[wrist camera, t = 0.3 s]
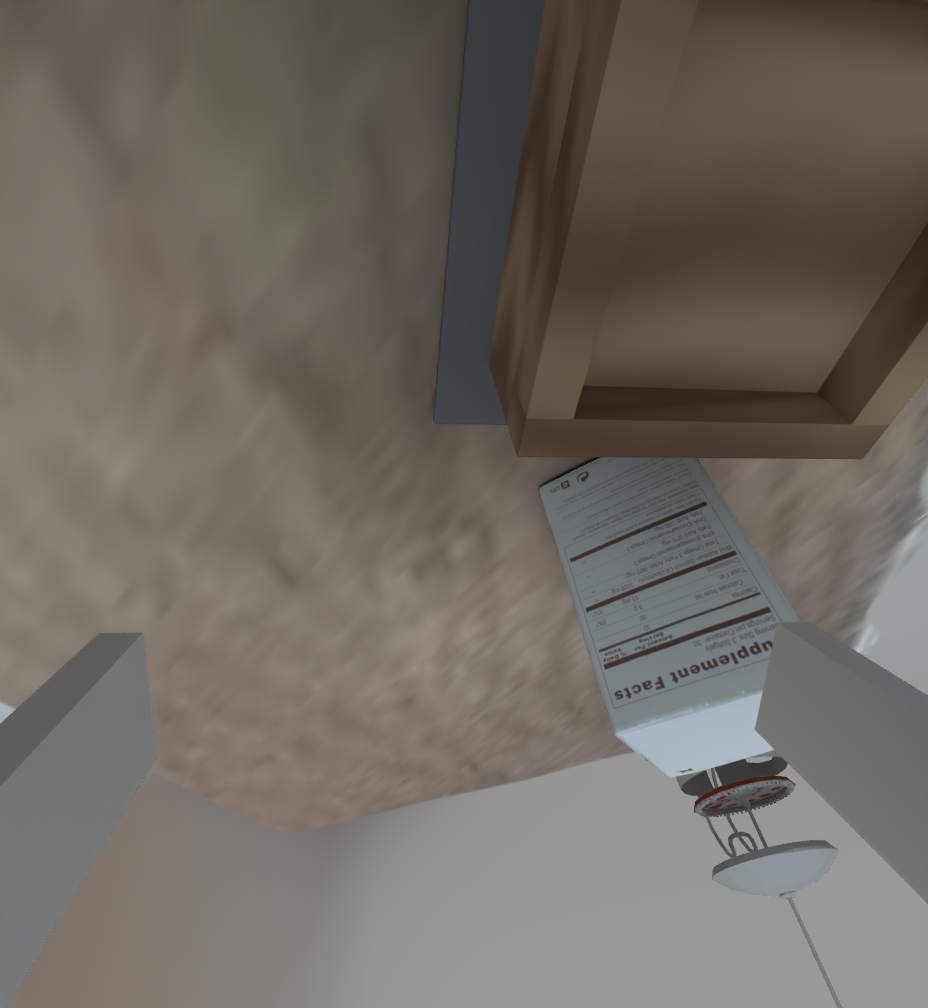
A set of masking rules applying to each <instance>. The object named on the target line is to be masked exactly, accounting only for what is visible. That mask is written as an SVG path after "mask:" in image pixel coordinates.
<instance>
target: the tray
mask: <svg viewBox="0 0 928 1008" xmlns="http://www.w3.org/2000/svg"><path fill="white" fill-rule="evenodd" d="M489 367H490V370H491V373H492V376H493V379H494V383H495V386H496V389H497V392H498V396H499V399H500V402H501V405H502V408H503V412H504V415H505V418H506V421H507V424H508V428H509V431H510V434H511V437H512V440H513V444H514V447H515V450H516V453H517V456H518V457H634V458H788V459H863V458H864V456H865V455H866V454H867V453H868V451H869V450H870V449H871V448H872V446H873V445H874V444H875V443H876V441H877V440H878V439H879V438H880V436H881V435H882V434H883V433H884V431H885V430H886V429H887V428H888V426H889V425H890V424H891V423H892V421H893V420H894V419H895V418H896V416H897V415H898V414H899V413H900V411H901V410H902V409H903V408H904V406H905V405H906V404H907V403H908V401H909V400H910V399H911V397H912V396H913V395H914V394H915V392H916V391H917V390H918V389H919V387H920V386H921V385H922V384H923V382H924V381H925V380H926V379H927V377H928V0H545V4H544V10H543V16H542V23H541V29H540V36H539V42H538V49H537V55H536V61H535V68H534V74H533V81H532V87H531V93H530V100H529V106H528V113H527V119H526V126H525V132H524V138H523V145H522V151H521V158H520V164H519V171H518V177H517V183H516V190H515V196H514V203H513V209H512V215H511V222H510V228H509V235H508V241H507V248H506V254H505V260H504V267H503V273H502V280H501V286H500V292H499V299H498V305H497V312H496V318H495V325H494V331H493V337H492V344H491V350H490V357H489Z"/></svg>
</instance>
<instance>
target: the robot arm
mask: <svg viewBox="0 0 928 1008" xmlns="http://www.w3.org/2000/svg"><path fill="white" fill-rule="evenodd" d="M755 731H756V732H757V733H758V734H759V735H760V736H761V737H762V738H763V739H764V740H765V741H766V742H767V743H768V744H769V745H770V746H771V747H772V748H773V749H774V750H775V751H776V752H777V753H778V754H779V755H780V756H781V757H782V758H783V759H784V760H785V761H786V762H787V763H788V764H789V765H790V766H791V767H792V768H793V769H794V770H795V771H796V772H797V773H798V774H799V775H800V776H801V777H802V778H803V779H804V780H805V781H806V782H807V783H808V784H809V785H810V786H811V787H812V788H813V789H814V790H815V791H816V792H817V793H818V794H819V795H820V796H821V797H822V798H823V799H824V800H825V801H826V802H827V803H828V804H829V805H830V806H831V807H832V808H833V809H834V810H835V811H836V812H837V813H838V814H839V815H840V816H841V817H842V818H843V819H844V820H845V821H846V822H847V823H848V824H849V825H850V826H851V827H852V828H853V829H854V830H855V831H856V832H857V833H858V834H859V835H860V836H861V837H862V838H863V839H864V840H865V841H866V842H867V843H868V844H869V845H870V846H871V847H872V848H873V849H874V850H875V851H876V852H877V853H878V854H879V855H880V856H881V857H882V858H883V859H884V860H885V861H886V862H887V863H888V864H889V865H890V866H891V867H892V868H893V869H894V870H895V871H896V872H897V873H898V874H899V875H900V876H901V877H902V878H903V879H904V880H905V881H906V882H907V883H908V884H909V885H910V886H911V887H912V888H913V889H914V890H915V891H916V892H917V893H918V894H919V895H920V896H921V897H922V898H923V899H924V900H925V901H926V902H927V903H928V695H926V694H924V693H923V692H921V691H920V690H918V689H916V688H915V687H913V686H911V685H910V684H908V683H907V682H905V681H903V680H902V679H900V678H898V677H897V676H895V675H893V674H892V673H890V672H889V671H887V670H886V669H884V668H882V667H881V666H879V665H877V664H876V663H874V662H873V661H871V660H869V659H868V658H866V657H864V656H863V655H861V654H860V653H858V652H856V651H855V650H853V649H851V648H850V647H848V646H847V645H845V644H843V643H842V642H840V641H838V640H837V639H835V638H834V637H832V636H830V635H829V634H827V633H826V632H824V631H822V630H821V629H819V628H817V627H816V626H814V625H813V624H811V623H809V622H777V627H776V632H775V636H774V641H773V646H772V650H771V655H770V660H769V664H768V669H767V674H766V678H765V683H764V688H763V692H762V697H761V702H760V706H759V711H758V716H757V720H756V725H755ZM156 758H157V757H156V748H155V738H154V729H153V720H152V710H151V701H150V692H149V682H148V673H147V664H146V654H145V645H144V636H143V633H99V634H98V635H97V636H95V637H94V638H93V639H92V640H91V641H90V642H89V643H88V644H87V645H86V646H85V647H83V648H82V649H81V650H80V651H79V652H78V653H77V654H76V655H75V656H74V657H73V658H71V659H70V660H69V661H68V662H67V663H66V664H65V665H64V666H63V667H62V668H61V669H59V670H58V671H57V672H56V673H55V674H54V675H53V676H52V677H51V678H50V679H49V680H47V681H46V682H45V683H44V684H43V685H42V686H41V687H40V688H39V689H38V690H37V691H35V692H34V693H33V694H32V695H31V696H30V697H29V698H28V699H27V700H26V701H25V702H23V703H22V704H21V705H20V706H19V707H18V708H17V709H16V710H15V711H14V712H13V713H11V714H10V715H9V716H8V717H7V718H6V719H5V720H4V721H3V722H2V723H1V724H0V1008H7V1006H8V1005H9V1003H10V1001H11V1000H12V998H13V996H14V995H15V993H16V991H17V990H18V988H19V986H20V985H21V983H22V981H23V979H24V978H25V976H26V975H27V973H28V971H29V970H30V968H31V966H32V965H33V963H34V961H35V960H36V958H37V956H38V954H39V953H40V951H41V950H42V948H43V946H44V945H45V943H46V941H47V940H48V938H49V936H50V934H51V933H52V931H53V929H54V928H55V926H56V924H57V923H58V921H59V919H60V918H61V916H62V914H63V913H64V911H65V909H66V908H67V906H68V904H69V903H70V901H71V899H72V898H73V896H74V894H75V893H76V891H77V889H78V888H79V886H80V884H81V883H82V881H83V879H84V878H85V876H86V874H87V872H88V871H89V869H90V867H91V866H92V864H93V863H94V861H95V859H96V858H97V856H98V854H99V852H100V851H101V849H102V848H103V846H104V844H105V843H106V841H107V839H108V838H109V836H110V834H111V833H112V831H113V829H114V827H115V826H116V824H117V823H118V821H119V819H120V818H121V816H122V814H123V813H124V811H125V809H126V807H127V806H128V804H129V802H130V801H131V799H132V798H133V796H134V794H135V793H136V791H137V789H138V788H139V786H140V784H141V783H142V781H143V779H144V778H145V776H146V774H147V773H148V771H149V769H150V768H151V766H152V764H153V763H154V761H155V759H156Z"/></svg>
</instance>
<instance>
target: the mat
mask: <svg viewBox="0 0 928 1008" xmlns="http://www.w3.org/2000/svg"><path fill="white" fill-rule="evenodd" d="M544 4H545V0H468V10H467V21H466V33H465V45H464V57H463V69H462V81H461V93H460V105H459V117H458V129H457V141H456V153H455V165H454V177H453V189H452V201H451V213H450V225H449V237H448V249H447V261H446V272H445V284H444V296H443V308H442V320H441V332H440V344H439V356H438V368H437V380H436V392H435V404H434V416H433V420H434V424H490V425H508V424H507V421H506V418H505V415H504V412H503V408H502V405H501V402H500V399H499V396H498V392H497V389H496V386H495V383H494V379H493V376H492V373H491V370H490V367H489V357H490V350H491V344H492V337H493V331H494V325H495V318H496V312H497V305H498V299H499V292H500V286H501V280H502V273H503V267H504V260H505V254H506V248H507V241H508V235H509V228H510V222H511V215H512V209H513V203H514V196H515V190H516V183H517V177H518V171H519V164H520V158H521V151H522V145H523V138H524V132H525V126H526V119H527V113H528V106H529V100H530V93H531V87H532V81H533V74H534V68H535V61H536V55H537V49H538V42H539V36H540V29H541V23H542V16H543V10H544Z"/></svg>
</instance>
